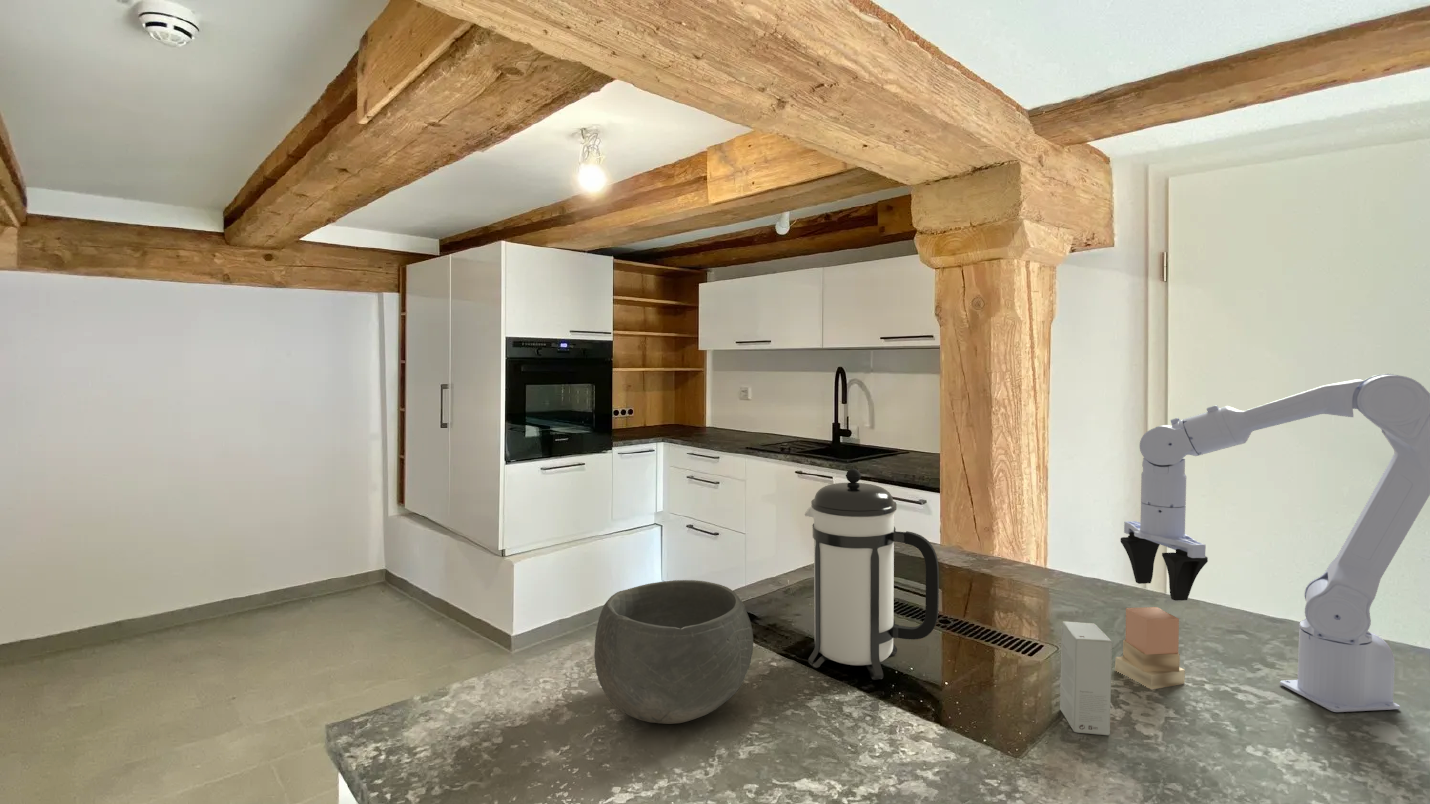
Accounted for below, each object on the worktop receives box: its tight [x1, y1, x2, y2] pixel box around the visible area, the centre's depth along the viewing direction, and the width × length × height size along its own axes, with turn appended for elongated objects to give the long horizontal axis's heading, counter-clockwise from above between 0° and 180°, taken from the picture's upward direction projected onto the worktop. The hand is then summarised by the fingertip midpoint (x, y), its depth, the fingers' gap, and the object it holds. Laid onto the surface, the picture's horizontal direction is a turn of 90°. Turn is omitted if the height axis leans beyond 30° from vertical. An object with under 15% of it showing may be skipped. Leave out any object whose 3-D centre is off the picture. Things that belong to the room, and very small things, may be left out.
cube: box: [1125, 606, 1180, 655], centre depth 97 cm, size 5×5×5 cm
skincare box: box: [1059, 620, 1113, 736], centre depth 85 cm, size 6×4×12 cm
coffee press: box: [804, 468, 940, 681], centre depth 103 cm, size 17×16×30 cm
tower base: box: [1114, 655, 1186, 690], centre depth 97 cm, size 6×6×2 cm
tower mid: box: [1122, 639, 1181, 672], centre depth 97 cm, size 5×5×2 cm
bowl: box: [593, 579, 754, 725], centre depth 90 cm, size 21×21×15 cm
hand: (1160, 591), depth 103 cm, fingers open, 7 cm apart
